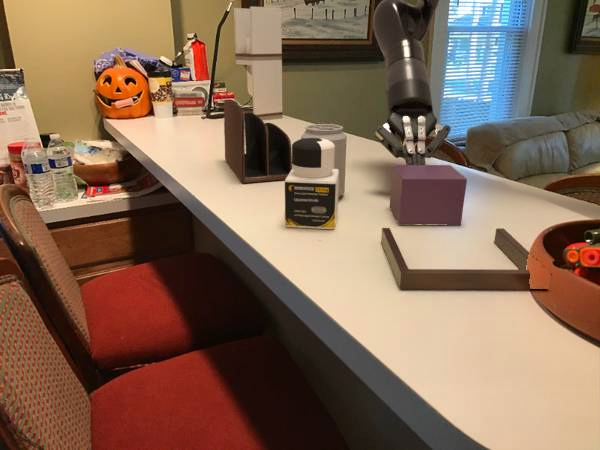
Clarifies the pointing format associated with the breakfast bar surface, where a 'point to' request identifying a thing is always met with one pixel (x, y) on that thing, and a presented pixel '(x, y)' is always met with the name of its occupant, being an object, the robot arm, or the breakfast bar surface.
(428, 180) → the block
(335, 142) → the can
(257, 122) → the letter holder
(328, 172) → the medicine bottle
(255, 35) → the white stepped pillar
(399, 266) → the bay
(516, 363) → the breakfast bar surface
